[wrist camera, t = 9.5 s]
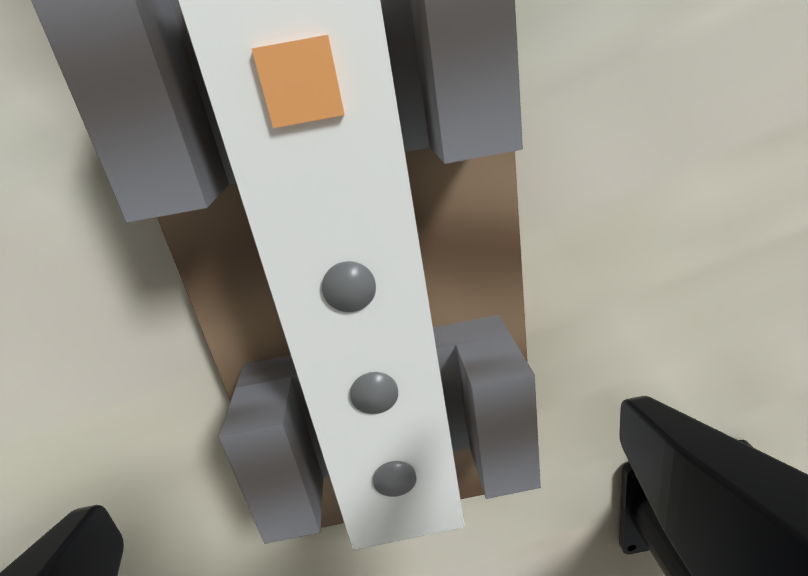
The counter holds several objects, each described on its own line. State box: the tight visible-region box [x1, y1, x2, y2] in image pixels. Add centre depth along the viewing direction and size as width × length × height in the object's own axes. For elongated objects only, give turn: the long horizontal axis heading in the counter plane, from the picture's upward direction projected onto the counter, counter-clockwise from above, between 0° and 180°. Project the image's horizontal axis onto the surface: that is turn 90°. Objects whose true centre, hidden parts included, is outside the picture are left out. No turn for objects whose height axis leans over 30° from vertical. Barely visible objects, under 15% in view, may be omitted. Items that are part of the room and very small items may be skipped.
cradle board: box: [31, 0, 541, 544], centre depth 16 cm, size 26×12×5 cm, turn 9°
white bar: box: [179, 0, 465, 550], centre depth 14 cm, size 18×4×3 cm, turn 9°
